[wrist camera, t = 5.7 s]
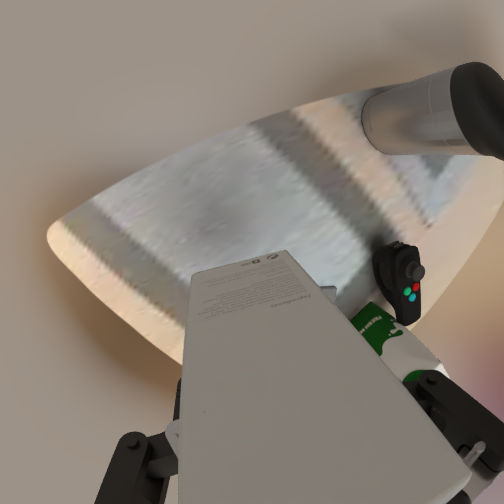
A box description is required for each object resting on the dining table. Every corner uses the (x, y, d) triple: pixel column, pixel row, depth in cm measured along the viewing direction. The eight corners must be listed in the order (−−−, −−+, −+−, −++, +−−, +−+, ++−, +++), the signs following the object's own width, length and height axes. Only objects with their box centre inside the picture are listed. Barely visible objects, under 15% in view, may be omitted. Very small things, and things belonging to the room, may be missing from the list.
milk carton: (372, 293, 40) (454, 367, 21) (394, 324, 42) (465, 393, 23) (331, 332, 41) (393, 424, 22) (358, 358, 43) (415, 439, 24)
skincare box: (190, 271, 16) (142, 569, 2) (291, 245, 16) (493, 469, 2) (229, 377, 18) (255, 583, 4) (311, 355, 19) (403, 541, 4)
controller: (386, 229, 37) (430, 246, 28) (396, 298, 41) (432, 326, 31) (363, 239, 37) (403, 260, 28) (375, 309, 41) (409, 340, 31)
